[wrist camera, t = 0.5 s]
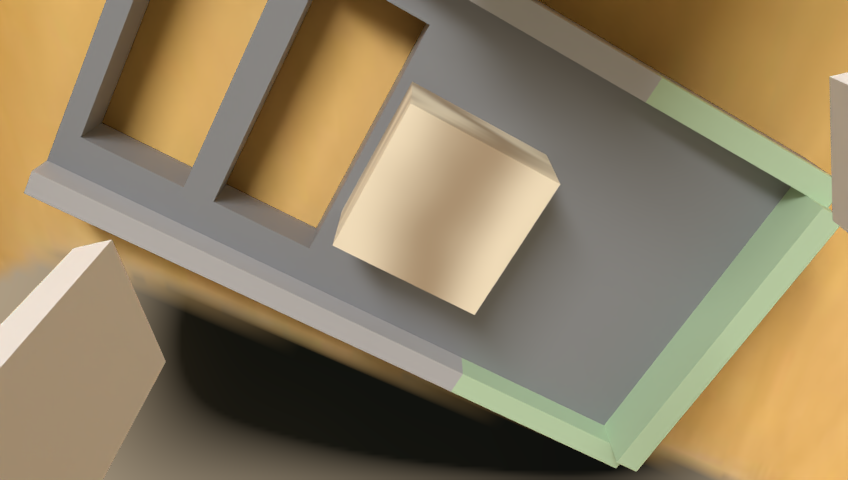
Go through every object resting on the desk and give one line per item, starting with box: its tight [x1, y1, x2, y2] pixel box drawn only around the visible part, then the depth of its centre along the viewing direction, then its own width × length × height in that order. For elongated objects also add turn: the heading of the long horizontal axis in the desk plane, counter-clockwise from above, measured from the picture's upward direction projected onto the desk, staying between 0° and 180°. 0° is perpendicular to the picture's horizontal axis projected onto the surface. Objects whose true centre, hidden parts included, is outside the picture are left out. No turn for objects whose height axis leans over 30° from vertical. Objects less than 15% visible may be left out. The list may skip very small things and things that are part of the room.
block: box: [333, 82, 560, 315], centre depth 34 cm, size 7×7×4 cm
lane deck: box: [24, 0, 839, 471], centre depth 36 cm, size 32×18×6 cm, turn 61°
